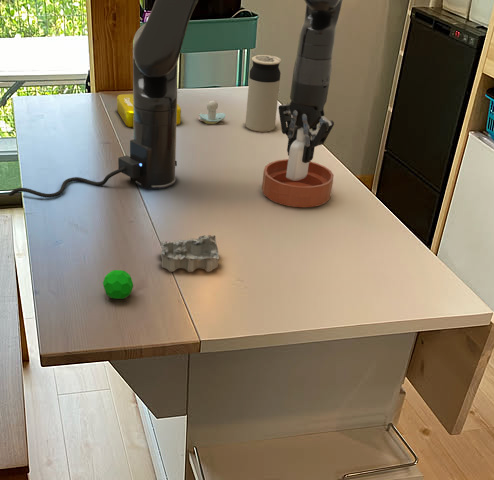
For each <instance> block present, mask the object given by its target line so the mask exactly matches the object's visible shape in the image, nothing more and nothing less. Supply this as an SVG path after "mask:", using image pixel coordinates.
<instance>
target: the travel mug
mask: <svg viewBox="0 0 494 480" xmlns="http://www.w3.org/2000/svg"><path fill="white" fill-rule="evenodd" d="M251 61H252V66H251V68H250V70H249V77H248V90H247V98H246V99H247V100H246V112H245V113H246V114H245V124H244V125H245V128H247V129H249V130H251V131H253V132H259V133H265V132H266V133H267V132H270V131H274V130H275V128H276V119H277V111H278V101H279V92H280V82H281V74H282V73H281V70H280V63H281V62H282V59H281V58H280V57H278V56H274V55H269V54H257V55H254V56H251Z"/></svg>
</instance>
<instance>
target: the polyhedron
mask: <svg viewBox="0 0 494 480" xmlns="http://www.w3.org/2000/svg"><path fill="white" fill-rule="evenodd" d="M102 285H103V288H104V292H105V294H106V295H107V297H109V298H110V299H114V300H125V299H126V298H127V297H128V296H130V295H131V293H132V291H133V288H134V283H133V279H132V276H131V275H130V274H129V273H128V272H127V271H125V270H122V269H113V270H111V271H109V272H108V273H106V275H105V276H104V278H103V282H102Z"/></svg>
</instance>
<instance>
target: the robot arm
mask: <svg viewBox="0 0 494 480" xmlns="http://www.w3.org/2000/svg"><path fill="white" fill-rule="evenodd" d="M303 1H304V3H305V4H306V7H305V11H304V12H305V13H304V20H303V23H302V26H301V28H300V32H299V36H298V44H297V51H296V52H297V53H296V57H295V61H294V65H293V72H292V77H291V78H292V79H291V88H290V94H289V99H290V102H289V103H284V104H280V105H279V106H278V114H279V123H280V128H281V133H282V134H283V135H286V136H287V148H286V153H287V156H288V157H289V152H290V147H291V144H292V143H293V142H294V141H295V140H296V139H297V131H298V129H299V128H301V127H302V128H303V134H304V135H305V145H306V146H304V151H303V158H302V162H304V163H308V162H310V161H311V162H312V161H313V159H314V154H315V148H316V147H319V146H322V145H324V144H325V142H326V140H327V138H328V136H329V135H330V133H331V131H332V129H333V128H334V125H335V122H334V120H329V119H328V118H327V117H325V110H324V107H325V105H326V103H327V100H328V94H329V87H330V83H331V82H330V81H331V75H332V71H333V70H332V69H333V55H334V49H335V42H336V34H337V33H336V32H337V25H338V22H339V19H340V13H341V9H342V5H343V0H303ZM198 2H199V0H155V1H154V3H153V6H152V9H151V11H150V13H149V16H148V18H147V20H146V22H145V23H144V24H142V25H141V26H140V27H139V28H138V29H137V30H136V32H135V34H134V36H133V40H132V67H133V68H132V72H133V73H132V74H133V75H132V94H133V109H134V128H133V138H132V139H130V140H129V155H124V156H123V155H122V156H120V157H118V158H117V159H118V160H117V161H118V162H117V165H118V169H115V170H113V171H112V172H110V173H108V174H107V175H106V176H105V177H104V178H103V179H102V180H101V181H92V180H89V179H86V178H84V177H79V176H73V177H69V178H66V179H65V180H64V181H63V182H62V184H61V187H60V189H59V190H58V191H56V192H52V193H45V192H41V191H38V190H34V189H31V188H27V187H17V188H14V189H12V190H11V191H10V192H9V193H7V196H8V197H11V196H14V195H15V194H17V193H28V194H32V195H34V196H37V197H40V198H46V199H47V198H48V199H49V198H56V197H59V196H61V195H62V194H63V193H64V191H65V189H66V186H67V185H68V184H69V183H71V182H81V183H85V184H88V185H91V186H96V187H101V186H104V185H106V184H107V182H108V181H109V180H110V179H111V178H113V177H114V176H116V175H118V174H120V173H122V174H124V175H126V176H127V177H129V180H130V182H132V183H134V184H136V185H138V186H139V187H142V188H143V189H145V190H151V189H152V190H153V189H164V188H169V187H171V186H172V185H174V184H175V183H176V167H177V163H178V162H177V160H176V156H177V155H176V154H177V153H176V152H177V125H176V123H177V104H178V61H179V58H180V54H181V52H182V51H181V50H182V47H183V42H184V40H185V37H186V33H187V29H188V25H189V23H190V20H191V17H192V14H193V12H194V10H195V8H196V6H197V4H198Z"/></svg>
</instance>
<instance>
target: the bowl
mask: <svg viewBox="0 0 494 480" xmlns="http://www.w3.org/2000/svg"><path fill="white" fill-rule="evenodd" d="M288 159H289V158H284V159H277V160H274V161H271V162H269V163H267V165H265V166H264V168H263V172H262V184H261V191H262V194H263V196H265V197H266V198H267V199H269V200H271V201H272V202H274V203H276V204H280V205H284V206H287V207H294V208H312V207H318V206H321V205H324V204H326V203H327V202H328V201H329V200H330V199H331V195H332V189H333V184H334V176H335V174H334V173H333V171H332V170H331V169H329V168H328V167H327V166H326V165H323V164H320V163H319V162H315V161H312V160H311V161H310V162H309V167H308V173H307V176H306V177H305V178H304V179H301V180H298V181H292V180H289V179H287V178H286V173H287V166H288Z"/></svg>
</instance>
